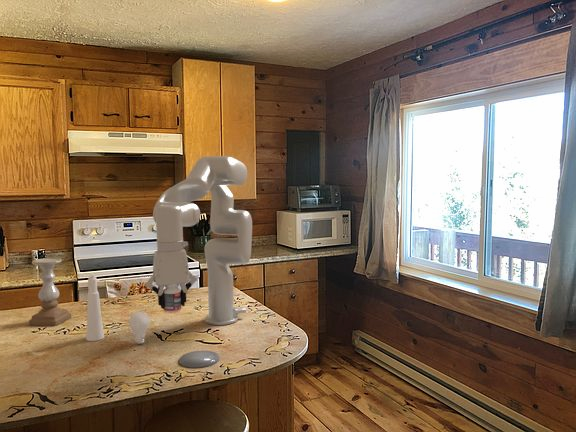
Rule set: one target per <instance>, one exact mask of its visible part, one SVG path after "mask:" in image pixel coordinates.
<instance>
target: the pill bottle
mask: <svg viewBox="0 0 576 432" xmlns="http://www.w3.org/2000/svg"><path fill="white" fill-rule="evenodd" d="M179 286H180V284H171V285H167V286H164V289H163V295H164V307H165V308H164V309H163V312H164V313H167V314H173V313H174V314H175V313H178V312H179V313H180V311H182V305H181V287H179Z"/></svg>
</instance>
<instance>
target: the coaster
mask: <svg viewBox="0 0 576 432" xmlns="http://www.w3.org/2000/svg"><path fill="white" fill-rule="evenodd" d="M178 360H179V361H178V363H179V365H180V366H182V367H185V368H190V369H200V368H207V367H210V366H212V365H215V364H217V363H218V362H219V361H220V355H219V354H218V353H217V352H214V351H211V350H194V351H189V352H186V353H183V354H182V355H181V356H180V357H179V359H178Z"/></svg>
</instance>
